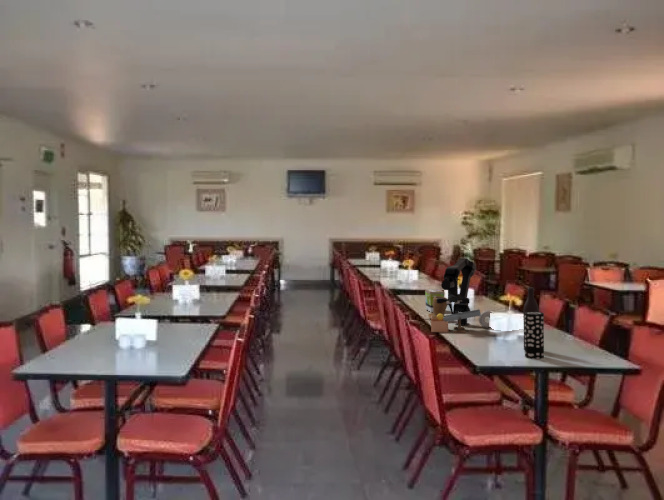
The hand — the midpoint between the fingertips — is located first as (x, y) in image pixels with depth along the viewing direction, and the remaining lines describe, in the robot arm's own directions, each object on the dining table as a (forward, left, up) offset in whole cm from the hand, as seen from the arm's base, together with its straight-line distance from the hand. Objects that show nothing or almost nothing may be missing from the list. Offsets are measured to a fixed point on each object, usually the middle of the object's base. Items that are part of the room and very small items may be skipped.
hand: (453, 315), depth 392 cm
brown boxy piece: (+12, -2, -7) cm, 14 cm away
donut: (-10, +17, -8) cm, 21 cm away
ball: (+12, -2, 0) cm, 12 cm away
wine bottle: (+41, +64, -8) cm, 76 cm away
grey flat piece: (+2, +7, 0) cm, 7 cm away
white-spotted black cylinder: (+55, +71, -8) cm, 90 cm away
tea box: (-58, -45, -8) cm, 74 cm away
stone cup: (-24, -23, -8) cm, 35 cm away
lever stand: (+7, +8, -7) cm, 13 cm away
